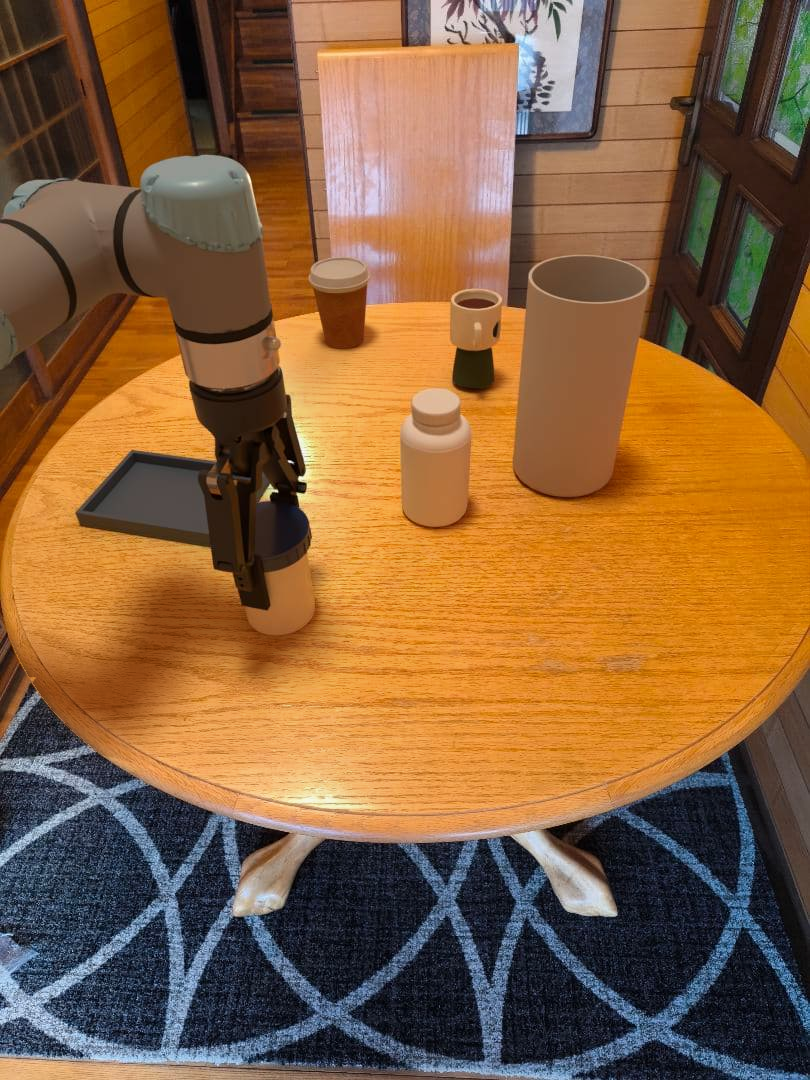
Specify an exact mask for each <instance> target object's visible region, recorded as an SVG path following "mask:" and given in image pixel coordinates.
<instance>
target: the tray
mask: <svg viewBox="0 0 810 1080" xmlns="http://www.w3.org/2000/svg"><path fill="white" fill-rule="evenodd" d="M216 461H217V460H209V459H202V458H194V457H187V456H181V455H174V454H167V453H158V452H152V451H143V450H137V449H131V450H129V452H128V453H127V454H126V455H125V457H123V459H122V460H121V461H120V462H119V463H118V464H117V465H116V467H114V469H113V470H112V471H111V472H110V473H109V474H108V475H107V477H106V478H105V479H104V480H103V481H102V482H101V483H100V484H99V485H98V486H97V487H96V489H95V490H94V491H93V492H92V493H91V494H90V495H89V497H88V498H86V500H85V501H84V502H83V503H82V504H81V505H80V506H79V508H78V509H77V510H76V511H75V512H74V514H75V516H76V519H77V521H78V524H79V526H81V527H86V528H87V527H88V528H95V529H99V530H106V531H112V532H119V533H125V534H129V535H137V536H143V537H149V538H155V539H161V540H167V541H172V542H178V543H179V542H180V543H184V544H191V545H198V546H202V547H209V548H211V545H210V538H209V530H208V522H207V514H206V506H205V499H204V495H203V492H202V490H201V487H200V485H199V482H198V474H199V472H200V471H201V470H208V471H211V469H212V468H213V466H214V464H215V463H216ZM232 476H233V477H234V478H239V479H246V480H251V477H242V476H236V475H234V474H232ZM269 485H271V484H270V482H269V481H268V479H267V478H266V476H265V474H264V473H263V471H262V487H261V489H259V490H257V492H256V503H258V502H260V500H261V498H263V497H262V496H263V495H264V494H265V491H267V489H268V487H269Z"/></svg>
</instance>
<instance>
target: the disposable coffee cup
mask: <svg viewBox="0 0 810 1080" xmlns="http://www.w3.org/2000/svg"><path fill="white" fill-rule="evenodd" d="M370 278H371V272H370V270H368V267H367V264H366V263H365V261H363V260H361V259H359V258H355V257H349V256H335V257H328V258H324V259H322V260H318V261H316V262H315V263H313V264H312V266H311V267H310V273H309V275H308V278H307V279H308V281H309V283H310V285H311V287H312V289H313V294H314V298H315V302H316V306H317V311H318V315H319V318H320V319H319V320H320V324H321V328H322V332H323V336H324V340H325V344H326V345H327V346H329V347H331V348H335V349H340V350H341V349H351V348H355V347H357V346H359V345H361V344H362V343H363V342H364V340H365V329H366V327H365V325H366V314H367V313H366V311H367V310H366V309H367V298H368V297H367V296H368V284H369V282H370Z"/></svg>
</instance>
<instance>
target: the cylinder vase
mask: <svg viewBox="0 0 810 1080" xmlns="http://www.w3.org/2000/svg"><path fill="white" fill-rule="evenodd" d="M650 284H651V280H650V277H649V275H648V274H647V273H646V272H645V270H643V269H641V268H640V267H639V266H637V265H636V264H633V263H631V262H629V261H625V260H622V259H618V258H614V257H609V256H603V255H595V254H569V255H561V256H555V257H552V258H548V259H545V260H543V261H541V262H539V263H537V264H535V265H533V267H532V268H531V269H530V270H529V272H528V278H527V289H526V290H527V291H526V303H525V314H524V324H523V325H524V326H523V336H522V349H521V359H520V371H519V382H518V393H517V394H518V395H517V405H516V406H517V407H516V417H515V428H514V429H515V430H514V441H513V452H512V467H513V471H514V473H515V475H516V476H517V477H518V478H519V480H520V481H521V482H522V483H524V484H525V485H526V486H527V487H529V488H531V489H533V490H534V491H537V492H538V493H542V494H544V495H548V496H552V497H560V498H575V497H583V496H587V495H590V494H593V493H595V492H597V491H599V490H600V489H602V488H603V487H605V486H606V485H607V484H608V483H609V481H610V480H611V478H612V476H613V474H614V473H613V472H614V468H615V464H616V458H617V453H618V447H619V444H620V443H619V442H620V439H621V432H622V428H623V423H624V418H625V411H626V408H627V407H626V406H627V401H628V396H629V392H630V386H631V383H632V376H633V372H634V366H635V362H636V356H637V350H638V346H639V340H640V335H641V330H642V325H643V320H644V316H645V315H644V314H645V310H646V305H647V301H648V300H647V299H648V295H649V289H650Z"/></svg>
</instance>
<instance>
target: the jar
mask: <svg viewBox="0 0 810 1080" xmlns="http://www.w3.org/2000/svg"><path fill="white" fill-rule="evenodd" d="M264 576H265V580H266V585H267V590H268V595H269V599H270V604H271V606H270V607H269V609H268V611H266V610H261V609H256V608H251V607H246V606H243V607H244V612H245V616H246V620H247V622H248V624H249V625H250V626H251V627H252V628H253V630H255V631H256V632H258V633H261V634H264V635H267V636H285V635H289V634H293V633H295V632H297V631H299V630H301V629H302V628H304V627H305V626H307V624H308V623H309V622H310V621H311V620H312V619H313V617H314V615H315V612H316V600H315V593H314V586H313V580H312V573H311V567H310V560H309V553H308V551H307V553H306V554H305V555H304V556H303V557H302V558H301V559H300V560H299V561H297V562H296V563H294V564H293V565H291V566H289V567H286V568H284V569H281V570H277V571H273V572H264Z"/></svg>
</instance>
